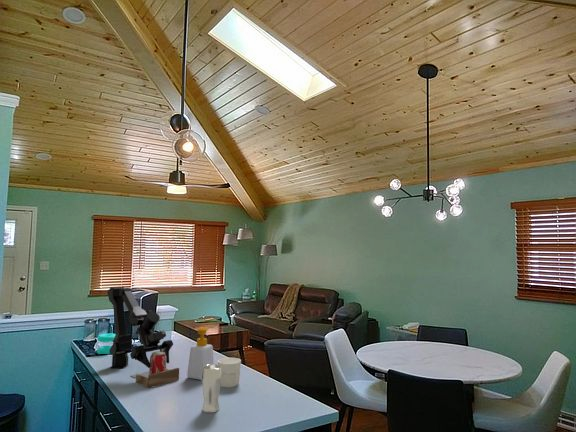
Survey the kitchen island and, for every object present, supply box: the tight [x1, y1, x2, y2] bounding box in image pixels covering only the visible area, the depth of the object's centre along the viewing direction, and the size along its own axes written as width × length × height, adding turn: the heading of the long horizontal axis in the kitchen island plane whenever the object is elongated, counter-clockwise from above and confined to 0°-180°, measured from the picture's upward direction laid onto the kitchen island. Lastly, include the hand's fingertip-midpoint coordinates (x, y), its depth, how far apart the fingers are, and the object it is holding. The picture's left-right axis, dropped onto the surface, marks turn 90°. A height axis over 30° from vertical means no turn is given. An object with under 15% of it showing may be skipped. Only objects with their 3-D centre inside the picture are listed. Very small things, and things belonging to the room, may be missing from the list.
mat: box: [130, 371, 149, 379], centre depth 181 cm, size 9×9×1 cm
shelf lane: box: [135, 367, 180, 389], centre depth 175 cm, size 11×14×5 cm
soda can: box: [148, 350, 167, 375], centre depth 175 cm, size 7×7×12 cm
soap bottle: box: [186, 326, 215, 381], centre depth 184 cm, size 10×14×22 cm
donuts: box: [96, 332, 116, 355], centre depth 222 cm, size 10×10×10 cm
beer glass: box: [201, 363, 221, 414], centre depth 144 cm, size 7×7×15 cm
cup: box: [217, 357, 242, 388], centre depth 172 cm, size 10×10×10 cm
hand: (159, 365), depth 174 cm, fingers open, 9 cm apart
